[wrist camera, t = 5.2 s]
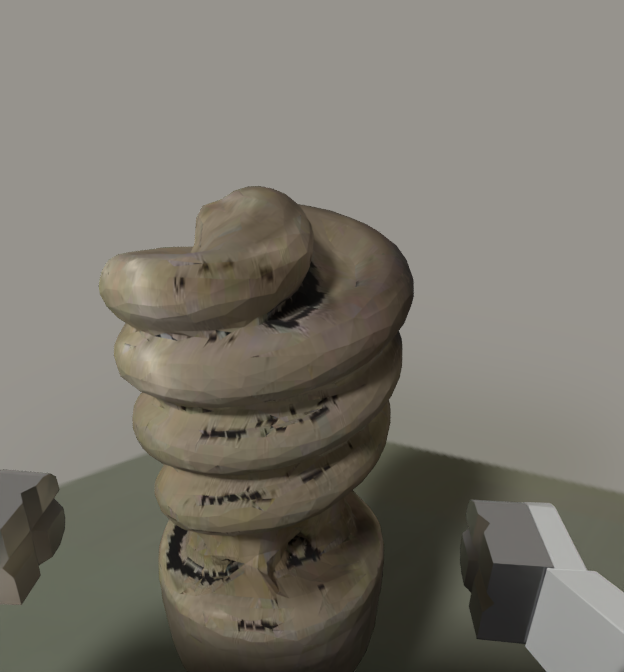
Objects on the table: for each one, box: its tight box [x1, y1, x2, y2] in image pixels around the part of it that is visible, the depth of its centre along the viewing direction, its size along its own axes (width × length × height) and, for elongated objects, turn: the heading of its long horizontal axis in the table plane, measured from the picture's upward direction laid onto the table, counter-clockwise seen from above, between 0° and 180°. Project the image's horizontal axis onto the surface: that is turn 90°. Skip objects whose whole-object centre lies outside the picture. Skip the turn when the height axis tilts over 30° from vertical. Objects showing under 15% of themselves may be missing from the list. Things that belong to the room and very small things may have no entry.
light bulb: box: [99, 186, 414, 672], centre depth 12 cm, size 6×6×15 cm
